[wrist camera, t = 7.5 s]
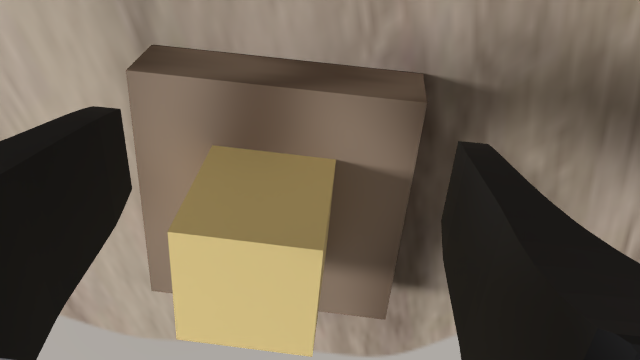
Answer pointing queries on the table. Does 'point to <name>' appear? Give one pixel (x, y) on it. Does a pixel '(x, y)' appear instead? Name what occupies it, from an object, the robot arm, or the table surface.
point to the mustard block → (252, 250)
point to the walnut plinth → (284, 150)
